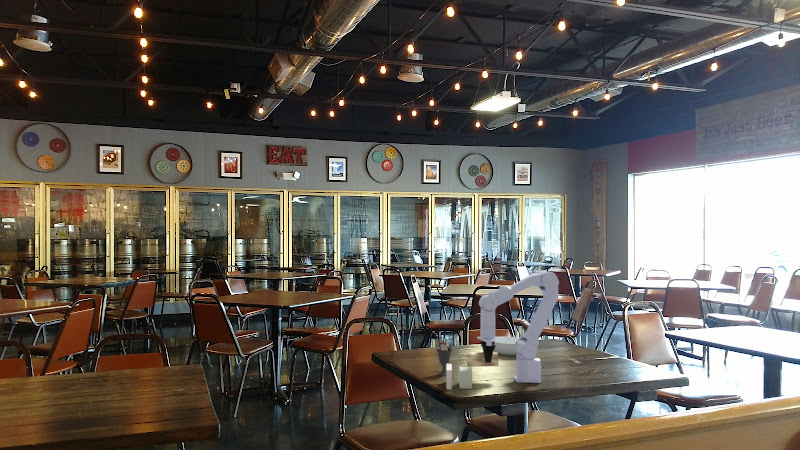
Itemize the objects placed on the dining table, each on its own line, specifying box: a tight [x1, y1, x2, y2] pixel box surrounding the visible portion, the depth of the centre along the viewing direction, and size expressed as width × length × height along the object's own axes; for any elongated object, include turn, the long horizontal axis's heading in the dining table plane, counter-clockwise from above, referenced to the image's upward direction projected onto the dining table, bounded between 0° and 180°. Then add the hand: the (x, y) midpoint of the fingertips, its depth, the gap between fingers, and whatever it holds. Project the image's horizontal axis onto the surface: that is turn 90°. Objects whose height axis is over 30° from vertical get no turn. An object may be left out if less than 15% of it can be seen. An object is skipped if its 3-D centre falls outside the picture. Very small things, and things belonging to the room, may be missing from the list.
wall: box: [445, 363, 453, 390], centre depth 218 cm, size 2×11×7 cm, turn 175°
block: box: [458, 365, 473, 390], centre depth 217 cm, size 4×8×6 cm, turn 175°
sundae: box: [436, 336, 453, 376], centre depth 236 cm, size 7×7×15 cm
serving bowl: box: [493, 336, 521, 357], centre depth 278 cm, size 21×21×7 cm
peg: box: [466, 351, 500, 368], centre depth 225 cm, size 12×4×5 cm, turn 85°
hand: (487, 361), depth 225 cm, fingers closed on peg, 4 cm apart
